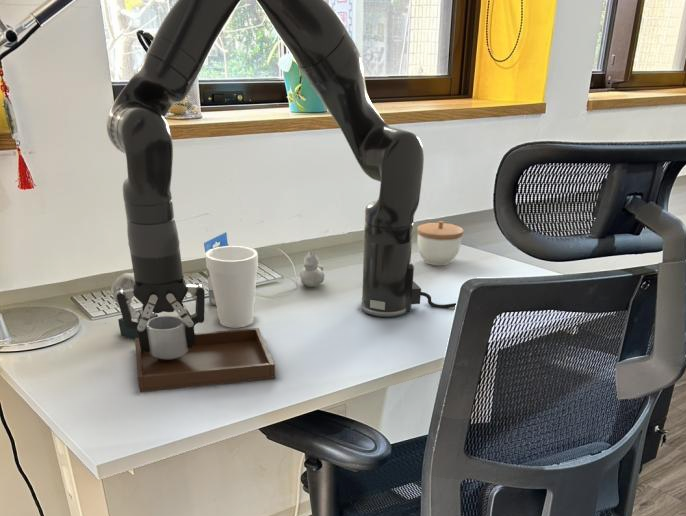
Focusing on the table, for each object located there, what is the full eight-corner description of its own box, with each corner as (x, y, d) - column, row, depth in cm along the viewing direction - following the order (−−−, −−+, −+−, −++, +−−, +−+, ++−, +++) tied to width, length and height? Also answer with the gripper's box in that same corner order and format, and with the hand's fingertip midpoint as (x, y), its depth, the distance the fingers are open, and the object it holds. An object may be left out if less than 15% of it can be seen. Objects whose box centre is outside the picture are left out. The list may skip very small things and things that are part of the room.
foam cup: (251, 333, 132) (247, 263, 124) (204, 327, 133) (197, 258, 126) (267, 314, 139) (264, 248, 132) (222, 309, 141) (216, 243, 133)
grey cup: (186, 344, 123) (183, 314, 120) (189, 359, 118) (186, 328, 115) (149, 347, 121) (144, 317, 118) (151, 363, 117) (146, 331, 113)
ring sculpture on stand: (134, 323, 134) (125, 265, 127) (167, 332, 131) (159, 274, 124) (112, 333, 130) (101, 274, 123) (145, 343, 127) (136, 283, 120)
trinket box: (408, 256, 173) (411, 216, 167) (448, 253, 176) (452, 214, 170) (424, 270, 164) (428, 229, 159) (466, 267, 167) (471, 226, 162)
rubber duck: (293, 286, 153) (292, 249, 148) (311, 278, 158) (311, 242, 153) (313, 291, 151) (313, 254, 146) (331, 283, 155) (331, 246, 151)
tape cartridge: (226, 307, 142) (221, 245, 135) (208, 304, 143) (203, 243, 136) (246, 293, 148) (243, 233, 141) (230, 291, 150) (225, 231, 142)
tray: (259, 341, 129) (258, 327, 127) (275, 378, 117) (274, 364, 115) (136, 351, 124) (134, 337, 122) (139, 392, 111) (137, 377, 110)
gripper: (106, 258, 105) (124, 361, 115) (204, 252, 109) (214, 353, 118) (106, 243, 111) (124, 342, 120) (199, 238, 114) (209, 335, 124)
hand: (168, 347), depth 119 cm, fingers closed on grey cup, 6 cm apart
